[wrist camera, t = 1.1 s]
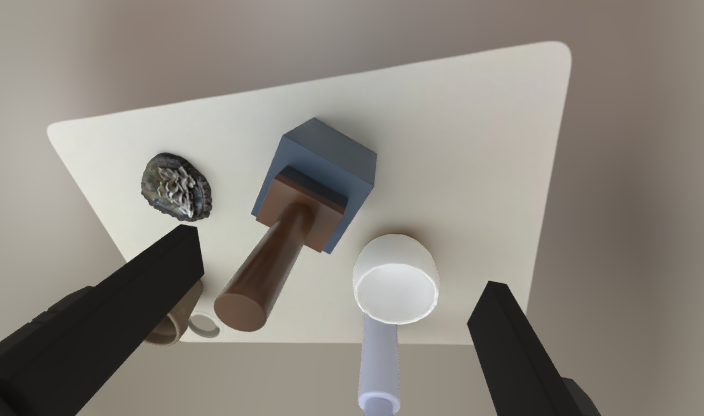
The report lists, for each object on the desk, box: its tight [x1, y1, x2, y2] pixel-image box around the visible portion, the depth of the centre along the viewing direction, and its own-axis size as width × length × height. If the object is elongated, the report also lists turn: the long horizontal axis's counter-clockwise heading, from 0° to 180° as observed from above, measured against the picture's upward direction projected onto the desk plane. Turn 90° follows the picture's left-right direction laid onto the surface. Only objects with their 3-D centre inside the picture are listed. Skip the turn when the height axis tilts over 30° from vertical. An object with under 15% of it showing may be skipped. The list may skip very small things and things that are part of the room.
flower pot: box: [143, 280, 202, 346], centre depth 48 cm, size 12×11×10 cm
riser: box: [251, 118, 377, 254], centre depth 33 cm, size 10×10×12 cm
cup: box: [353, 234, 440, 325], centre depth 39 cm, size 12×12×10 cm
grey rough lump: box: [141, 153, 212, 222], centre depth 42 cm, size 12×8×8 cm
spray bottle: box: [358, 314, 400, 416], centre depth 41 cm, size 6×6×22 cm
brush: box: [214, 165, 349, 332], centre depth 21 cm, size 7×5×15 cm
